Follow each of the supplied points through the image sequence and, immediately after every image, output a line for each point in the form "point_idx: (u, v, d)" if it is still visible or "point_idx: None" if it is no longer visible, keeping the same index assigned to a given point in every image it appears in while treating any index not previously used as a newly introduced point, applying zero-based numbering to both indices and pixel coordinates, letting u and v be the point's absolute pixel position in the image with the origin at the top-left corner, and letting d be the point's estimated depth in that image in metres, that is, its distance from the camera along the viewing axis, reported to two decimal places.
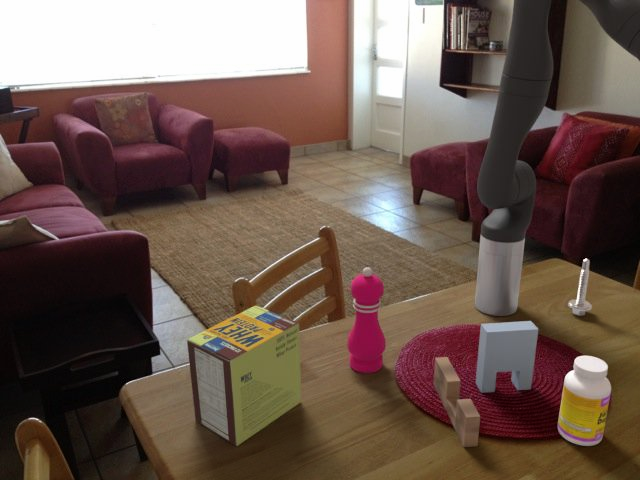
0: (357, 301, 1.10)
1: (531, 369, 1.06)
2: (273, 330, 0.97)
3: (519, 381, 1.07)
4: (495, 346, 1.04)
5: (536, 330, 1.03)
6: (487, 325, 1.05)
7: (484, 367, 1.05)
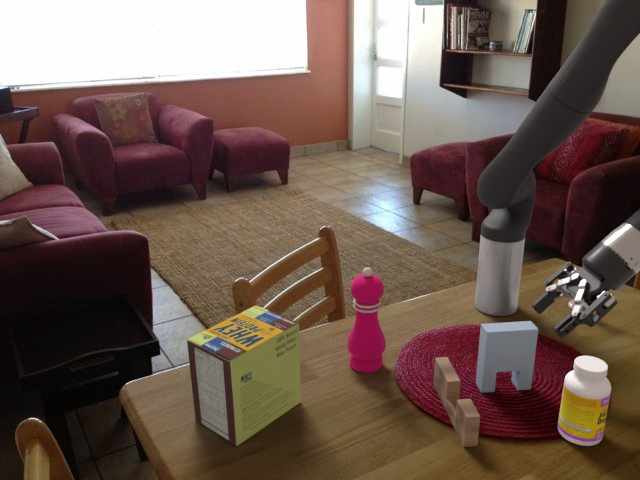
0: (357, 301, 1.10)
1: (531, 369, 1.06)
2: (273, 330, 0.97)
3: (519, 381, 1.07)
4: (495, 346, 1.04)
5: (536, 330, 1.03)
6: (487, 325, 1.05)
7: (484, 367, 1.05)
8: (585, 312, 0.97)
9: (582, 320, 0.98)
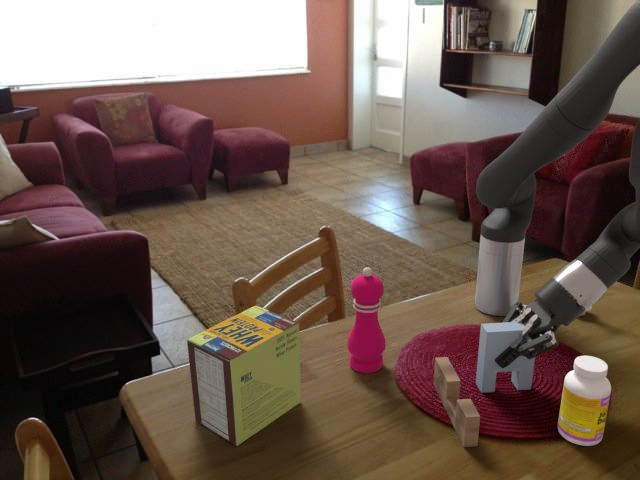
0: (357, 301, 1.10)
1: (531, 369, 1.06)
2: (273, 330, 0.97)
3: (519, 381, 1.07)
4: (495, 346, 1.04)
5: None
6: (487, 325, 1.05)
7: (484, 367, 1.05)
8: (524, 346, 1.01)
9: (520, 352, 1.02)
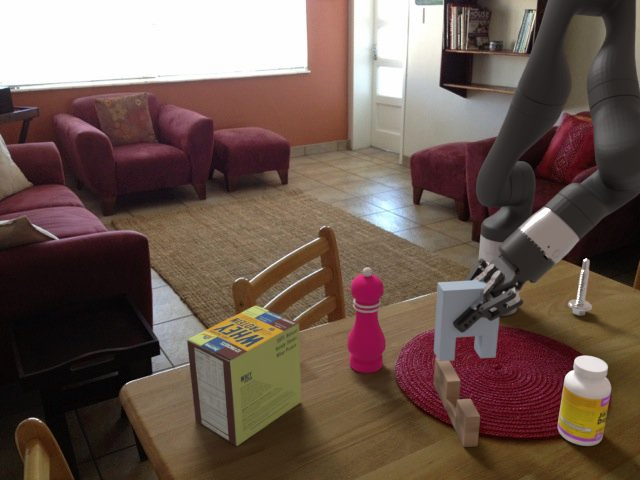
0: (357, 301, 1.10)
1: (495, 334, 0.93)
2: (273, 330, 0.97)
3: (482, 348, 0.94)
4: (453, 307, 0.91)
5: None
6: (444, 283, 0.92)
7: (441, 331, 0.92)
8: (484, 305, 0.88)
9: (481, 313, 0.89)
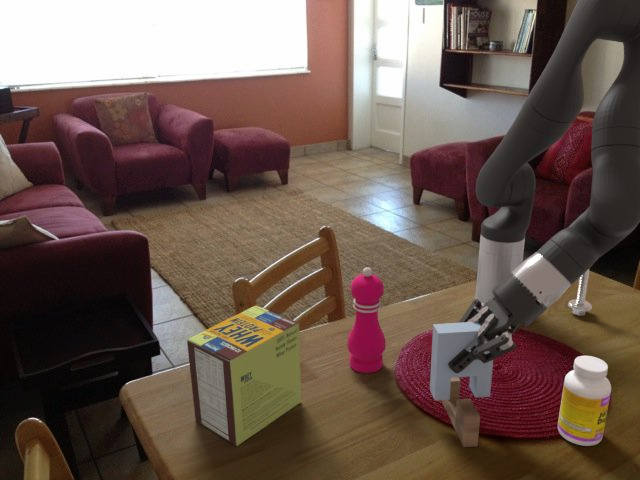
0: (357, 301, 1.10)
1: (489, 374, 0.96)
2: (273, 330, 0.97)
3: (476, 387, 0.96)
4: (448, 348, 0.93)
5: None
6: (440, 325, 0.95)
7: (437, 372, 0.95)
8: (478, 348, 0.91)
9: (475, 356, 0.92)
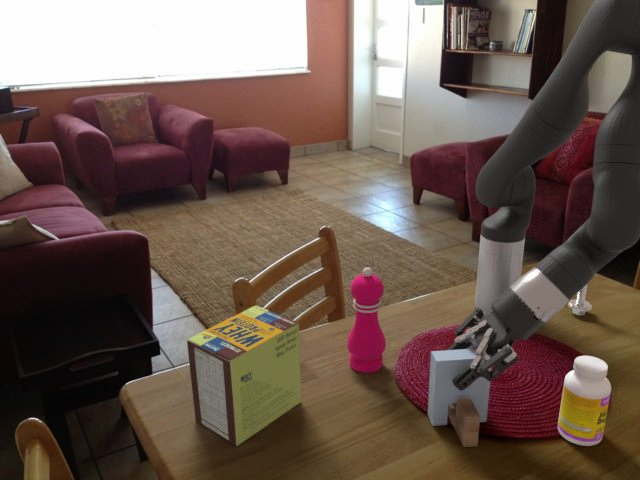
0: (357, 301, 1.10)
1: (486, 400, 0.98)
2: (273, 330, 0.97)
3: None
4: (446, 376, 0.95)
5: None
6: (437, 353, 0.96)
7: (434, 398, 0.97)
8: (483, 365, 0.90)
9: (480, 374, 0.91)
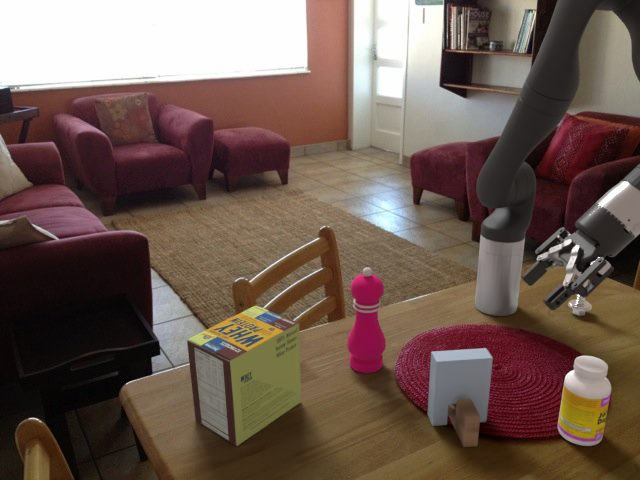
0: (357, 301, 1.10)
1: (486, 400, 0.98)
2: (273, 330, 0.97)
3: None
4: (446, 376, 0.95)
5: (490, 359, 0.95)
6: (438, 353, 0.96)
7: (435, 399, 0.97)
8: (577, 281, 0.87)
9: (574, 290, 0.88)
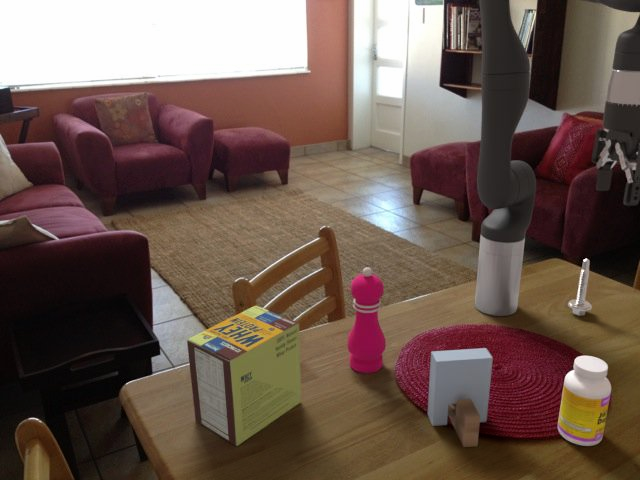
0: (357, 301, 1.10)
1: (486, 400, 0.98)
2: (273, 330, 0.97)
3: None
4: (446, 376, 0.95)
5: (490, 359, 0.95)
6: (438, 353, 0.96)
7: (435, 399, 0.97)
8: (636, 174, 0.94)
9: None
